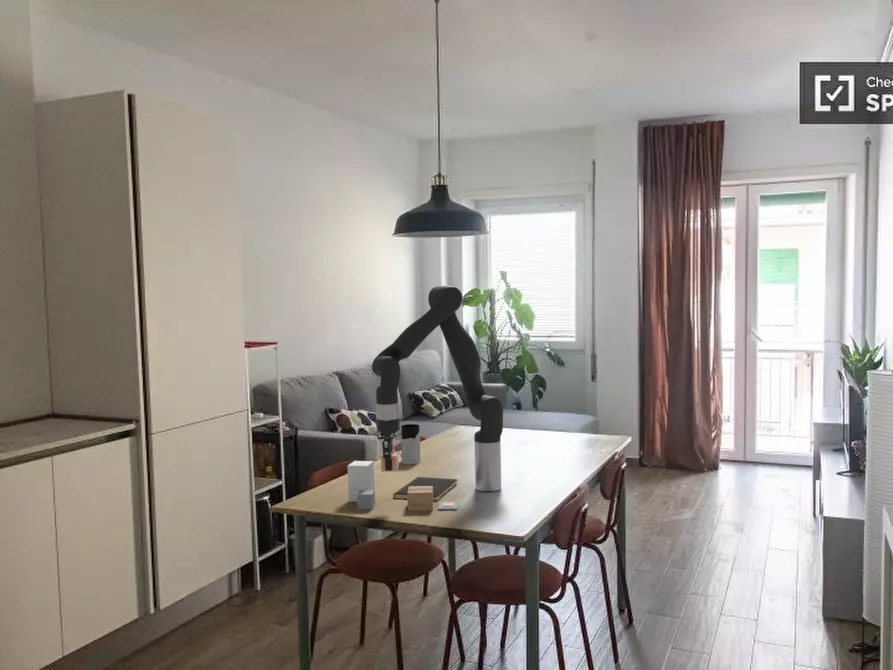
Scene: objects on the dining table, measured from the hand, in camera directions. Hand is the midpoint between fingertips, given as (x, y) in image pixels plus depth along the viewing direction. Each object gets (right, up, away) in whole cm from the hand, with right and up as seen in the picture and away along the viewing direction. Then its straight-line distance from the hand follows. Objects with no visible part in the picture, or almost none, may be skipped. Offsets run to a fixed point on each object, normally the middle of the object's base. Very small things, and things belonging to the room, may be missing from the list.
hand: (389, 467), depth 249 cm
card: (+19, -13, 0) cm, 23 cm away
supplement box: (-10, -13, +10) cm, 19 cm away
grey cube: (-8, -13, +1) cm, 15 cm away
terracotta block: (0, -1, 0) cm, 1 cm away
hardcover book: (+11, -12, +20) cm, 26 cm away
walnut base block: (+10, -13, 0) cm, 16 cm away
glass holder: (+1, -9, +66) cm, 67 cm away
